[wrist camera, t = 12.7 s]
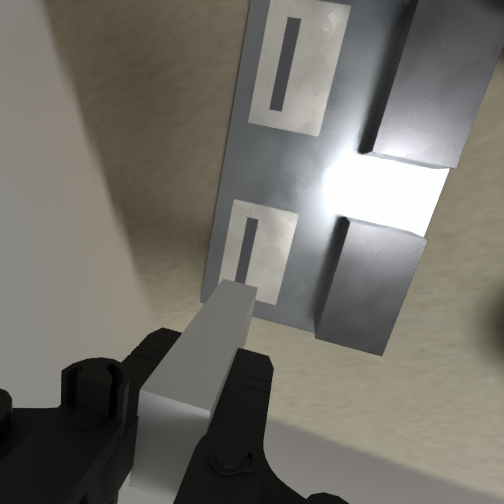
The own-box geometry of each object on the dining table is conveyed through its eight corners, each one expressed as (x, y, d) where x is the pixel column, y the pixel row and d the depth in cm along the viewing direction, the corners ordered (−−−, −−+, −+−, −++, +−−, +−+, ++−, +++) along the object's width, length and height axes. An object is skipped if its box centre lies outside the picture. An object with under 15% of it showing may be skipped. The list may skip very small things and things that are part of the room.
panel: (274, -109, 17) (266, -199, 13) (534, -80, 15) (617, -171, 11) (204, 296, 24) (185, 320, 20) (375, 341, 23) (391, 377, 19)
